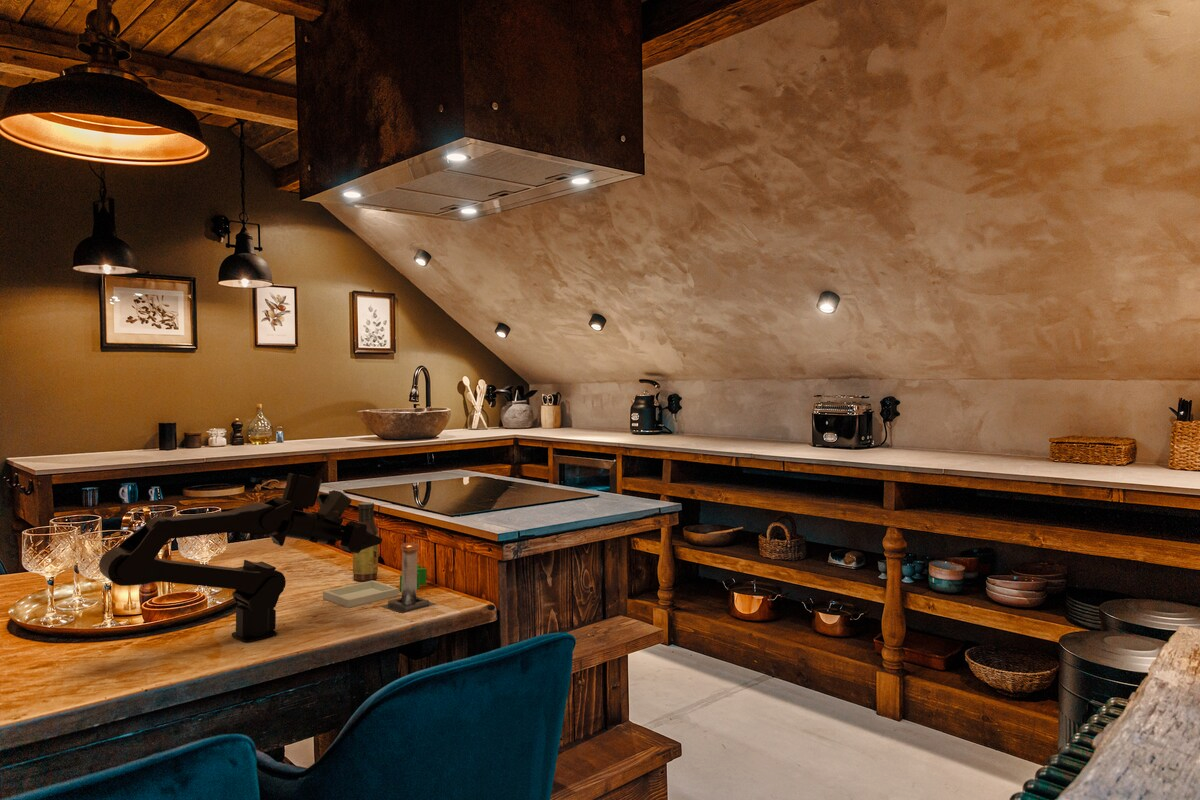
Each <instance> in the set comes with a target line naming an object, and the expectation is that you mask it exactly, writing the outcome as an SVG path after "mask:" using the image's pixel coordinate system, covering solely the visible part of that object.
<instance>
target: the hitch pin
mask: <svg viewBox="0 0 1200 800" xmlns="http://www.w3.org/2000/svg"><path fill="white" fill-rule="evenodd" d="M400 550H401V553H402V554H401V558H402V559H401V575H402V588H401V592H400V594H401V595H400V598H401V603H402V604H405V605H408V604H412V603H416V597H418V595H417V592H418V591H417V590H418V589H417V565H418V550H419V551H420V543H418V542H405V543H404V542H403V543H401V544H400Z"/></svg>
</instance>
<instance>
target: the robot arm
mask: <svg viewBox="0 0 1200 800" xmlns="http://www.w3.org/2000/svg"><path fill="white" fill-rule="evenodd" d="M322 481H323V479H321V478H317V477H313V476H308V475H303V474H296V473H291V472H289V473H288V474H287V478H286V484H285V488H284V490H283V494H282V497H280V496H275V497H273V498H271V499H268V500H267V501H265V502H258V501H257V502H253V503H248V504H245V505H241V506H238V507H235V508H234V509H231V510H227V511H217V512H207V513H196V514H184V515H175V516H160V515H159V516H154V517H152V518H150V519H149V520H148V521H147V522H145V524H144V525H143V526H142V527H141V528H139V529H137V530H136V531H135V532H134V533H131V535H129V536H128V537H126V538H125V539H124V540H123V541H122V542H121V543H120V544H118V546H115V547H112V548H111V549H109V550H107V551H106V552H104V554H103V555H102V556H101V557H100V559H99V563H98V568H99V571H100V573H101V575H103V577H105V578H106V579H108V581H111V582H112V583H114V584H115V585H118V586H120V587H121V586H122V587H123V586H124V587H126V586H128V587H129V586H141V585H142V586H145V585H149V584H153V583H159V582H161V583H169V584H170V583H171V584H179V585H180V584H181V585H188V586H189V585H191V586H202V587H208V588H209V587H211V588H219V589H220V588H221V589H230V590H234V591H233V592H232V594H231V595H232V598H233V601H234V602H235V603H236V604H238V605H237V606H236V607H235V631H234V632H231V636H232V637H234V638H236V639H238V640H240V641H242V642H244V643H251V642H255V641H259V640H262V639H266V637H267V638H270V637H269V636H271V637H274V636H273V635H275V636H277V635H278V632H277V631H276V628H277V627H276V625H277V624H276V623H277V622H276V621H277V617H276V616H277V609H275V608H276V606H277V603H278V601H279V598H280V596H281V594H282V593H283V592H284V590H285V587H286V585H287V584H286V583H287V582H286V581H287V580H286V577H285V575H284V573H283V572H281V571H279V570H277V567H275V566H274V565H271V564H269V563H268V562H265V561H258V562H257V561H256V562H253V561H251V560H248V559H244V560H243V565H242V566H238V567H229V566H219V565H212V564H204V563H195V562H194V563H193V562H187V561H180V560H169V559H165V558H163V559H162V558H159V557H157V556H158V555H159V553H160V551H161V550H162V549H163V547H164V546H165V545H166V543H168V541H169V540H172V539H181V538H191V537H199V536H206V535H207V536H208V535H215V534H216V535H217V534H226V533H239V534H240V533H241V534H249V535H263V536H264V535H268V536H269V537H270V538H271V540H272V542H273V544H275V545H277V546H279V547H283V546H284V544H285V541H286V538H291V539H295V540H296V539H297V540H303V541H308V542H311V543H316V544H318V543H322V544H326V545H329V546H334V547H335V545H336V542H340V544H339V545H340V547H341V550H344V551H346V552H350V553H352V554H353V553H359V552H360V551H361V550H363V549H366V548H369V547H372V546H375V545H378V546H379V545H381V544H382V542H383V538H382V537H380V536H379V535H378V536H375V535H373V534H371V533H369V532H367V525H366V524H363V523H359V522H358V521H355V520H349V522H347V523H345V524H343V522H344V518H343V517H341V516H342V515H343V514H344V512H345V511H346V510H347V508H348V506H350V504H351V503H352V498H350V497H348V495H346V494H345V493H344V492H342V491H341V490H335V489H334V490H328V491H327V492H328V493H325V492H324V493H323V492H320V493H319V491H320V488H321V485H322ZM316 501H317V503H318V507H319V509H318V511H311V512H306V511H302V510H298V509H295V508H300V509H305V510H309V508H314V506H315V505H316ZM276 634H277V635H276Z"/></svg>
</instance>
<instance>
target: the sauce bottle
mask: <svg viewBox="0 0 1200 800" xmlns="http://www.w3.org/2000/svg"><path fill="white" fill-rule="evenodd" d="M357 509H358V517H357V519H358V521H357V522H359V523H363V524H366V525H367V532H369V533H371V534H373V535H375V536H378V537H379V530H378V528H377V525H376V522H375V519H374V514H375V513H374V510H375V503H374V502H371V501H366V502H365V501H363V502H358V504H357ZM378 572H379V544H378V545H375V546H372V547H369V548H366V549H363V550H361V551H360V552H359V553H353V552H352V573H353V577H352V578H353V579H354V580H355V581H358V582H368V581H372V580H375V579H377V577H378Z"/></svg>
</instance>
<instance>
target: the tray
mask: <svg viewBox="0 0 1200 800" xmlns="http://www.w3.org/2000/svg"><path fill="white" fill-rule="evenodd" d="M399 593H400V587H395V586H392V585H388V584H386V583H383V582H380V581H376V580H375V579H373V580H370V581H362V582H359V583H355V584H349V585H345V586H340V587H336V588H332V589H331V588H330V589H326V590H323V591H322V600H324V601H327V602H329V603H333V604H335V605H338V606H341V607H343V608H346V609H351V608H352V609H353V608H355V607H361V606H364V605H367V604H372V603H377V602H381V601H384V600H389V599H392V598H393V599H394V598H397V597H399V595H400V594H399Z"/></svg>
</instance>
